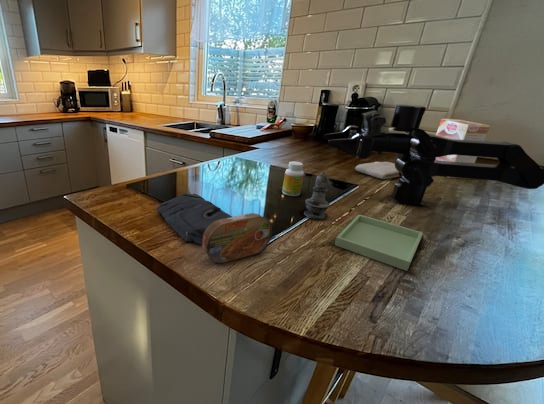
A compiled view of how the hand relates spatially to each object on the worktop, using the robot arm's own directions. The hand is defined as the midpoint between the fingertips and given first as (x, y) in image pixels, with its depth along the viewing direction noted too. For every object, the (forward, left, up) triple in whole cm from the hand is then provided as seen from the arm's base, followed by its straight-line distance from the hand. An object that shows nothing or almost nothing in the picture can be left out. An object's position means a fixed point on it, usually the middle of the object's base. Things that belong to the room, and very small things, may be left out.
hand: (326, 139), depth 88 cm
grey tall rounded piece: (+2, +19, -17) cm, 26 cm away
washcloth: (-27, -29, -17) cm, 43 cm away
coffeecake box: (-51, -39, -17) cm, 67 cm away
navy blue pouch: (+31, +32, -17) cm, 48 cm away
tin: (+20, +45, -17) cm, 52 cm away
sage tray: (-10, +30, -17) cm, 36 cm away
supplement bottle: (+8, +5, -17) cm, 19 cm away
